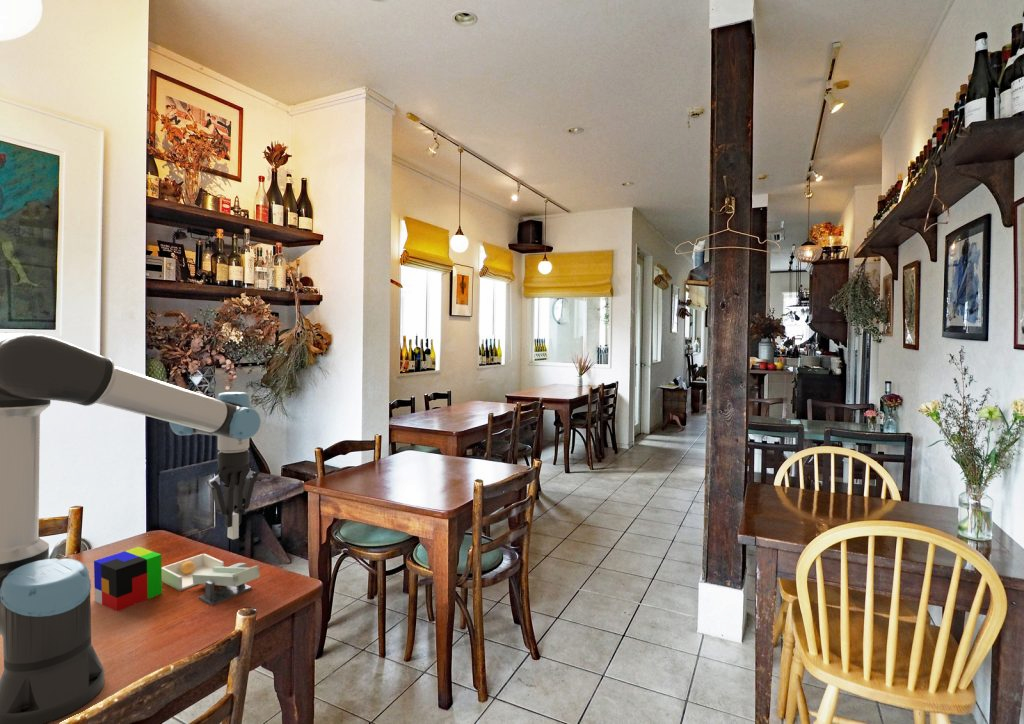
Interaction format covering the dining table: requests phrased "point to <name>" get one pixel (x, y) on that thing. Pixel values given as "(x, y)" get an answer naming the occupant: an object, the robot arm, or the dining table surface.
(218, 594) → the fulcrum
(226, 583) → the lever
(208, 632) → the dining table surface
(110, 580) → the puzzle toy
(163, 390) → the robot arm
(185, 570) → the ball
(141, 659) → the dining table surface
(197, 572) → the tray
